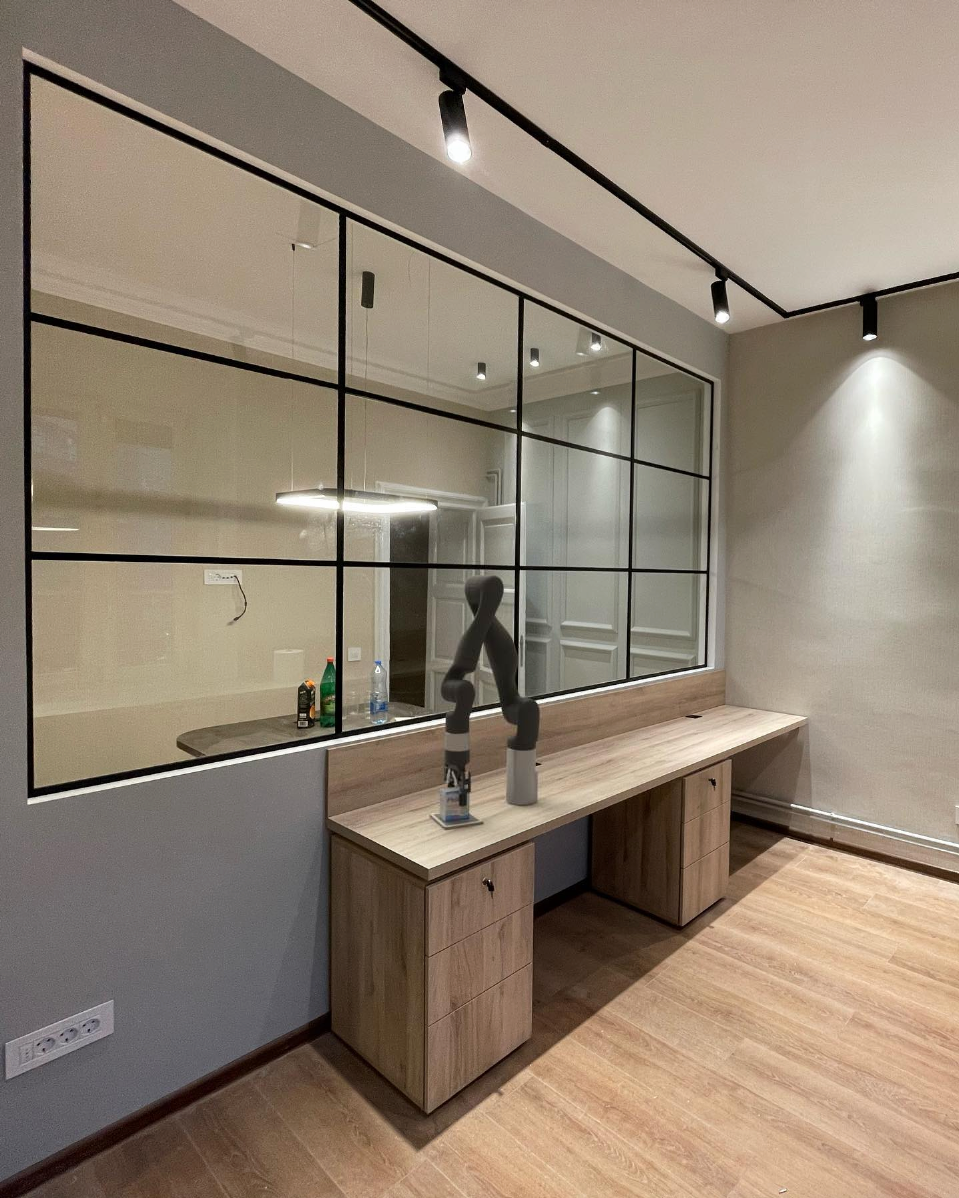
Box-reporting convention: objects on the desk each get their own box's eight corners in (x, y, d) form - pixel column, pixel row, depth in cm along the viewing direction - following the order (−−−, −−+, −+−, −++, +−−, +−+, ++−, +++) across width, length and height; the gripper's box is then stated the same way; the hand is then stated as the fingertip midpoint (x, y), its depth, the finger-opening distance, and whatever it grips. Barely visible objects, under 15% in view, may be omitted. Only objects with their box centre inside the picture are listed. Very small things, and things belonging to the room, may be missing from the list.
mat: (466, 810, 208) (466, 808, 208) (483, 823, 197) (483, 821, 197) (429, 816, 203) (429, 813, 203) (444, 829, 192) (445, 827, 192)
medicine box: (444, 822, 196) (445, 792, 196) (439, 817, 200) (439, 788, 200) (469, 818, 200) (470, 789, 199) (463, 813, 204) (463, 785, 203)
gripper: (479, 751, 195) (478, 807, 195) (459, 740, 208) (458, 793, 208) (455, 753, 191) (454, 811, 192) (436, 742, 204) (435, 796, 205)
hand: (456, 801), depth 200 cm, fingers open, 8 cm apart
